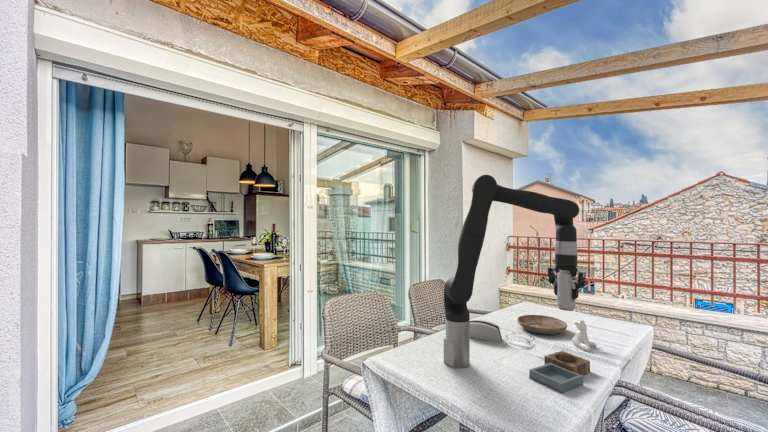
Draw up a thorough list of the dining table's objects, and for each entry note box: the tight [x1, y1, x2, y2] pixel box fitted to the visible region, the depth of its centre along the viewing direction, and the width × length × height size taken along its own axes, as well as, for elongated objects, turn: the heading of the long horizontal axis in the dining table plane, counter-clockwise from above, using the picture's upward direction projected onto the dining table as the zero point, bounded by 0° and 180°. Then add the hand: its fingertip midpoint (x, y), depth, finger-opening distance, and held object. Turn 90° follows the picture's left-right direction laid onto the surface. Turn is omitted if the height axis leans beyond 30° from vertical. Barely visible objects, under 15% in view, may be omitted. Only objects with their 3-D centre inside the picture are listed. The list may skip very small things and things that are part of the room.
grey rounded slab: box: [470, 319, 503, 344], centre depth 159 cm, size 17×5×10 cm, turn 57°
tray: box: [528, 363, 584, 394], centre depth 116 cm, size 12×12×3 cm
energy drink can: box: [556, 270, 576, 312], centre depth 127 cm, size 6×6×15 cm
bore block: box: [544, 350, 591, 376], centre depth 126 cm, size 12×12×4 cm
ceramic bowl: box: [516, 314, 568, 335], centre depth 172 cm, size 23×24×5 cm
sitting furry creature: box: [571, 319, 597, 353], centre depth 149 cm, size 10×9×12 cm
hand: (565, 296), depth 126 cm, fingers closed on energy drink can, 6 cm apart
